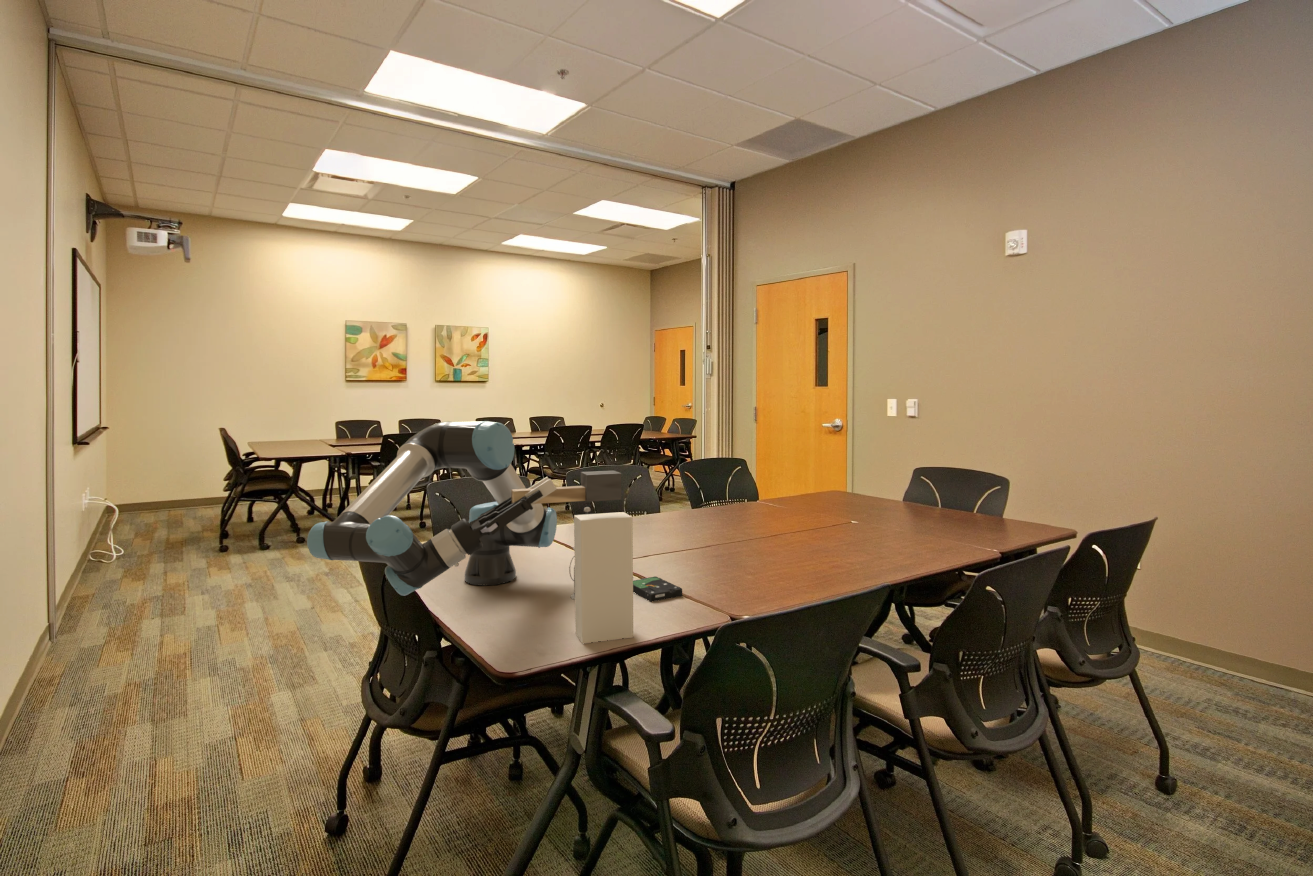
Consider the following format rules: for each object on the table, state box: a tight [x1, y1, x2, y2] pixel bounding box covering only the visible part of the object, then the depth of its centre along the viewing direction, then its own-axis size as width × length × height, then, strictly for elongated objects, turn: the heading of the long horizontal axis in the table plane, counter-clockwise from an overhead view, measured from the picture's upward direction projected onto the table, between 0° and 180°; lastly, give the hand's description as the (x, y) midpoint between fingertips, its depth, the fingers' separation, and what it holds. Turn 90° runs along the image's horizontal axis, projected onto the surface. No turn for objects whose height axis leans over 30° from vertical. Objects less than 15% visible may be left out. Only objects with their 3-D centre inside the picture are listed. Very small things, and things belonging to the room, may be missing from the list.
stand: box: [573, 511, 634, 645], centre depth 158 cm, size 7×12×28 cm, turn 109°
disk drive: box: [633, 576, 683, 603], centre depth 192 cm, size 10×3×15 cm
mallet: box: [511, 470, 623, 504], centre depth 153 cm, size 6×24×6 cm, turn 110°
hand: (551, 482), depth 152 cm, fingers closed on mallet, 3 cm apart
